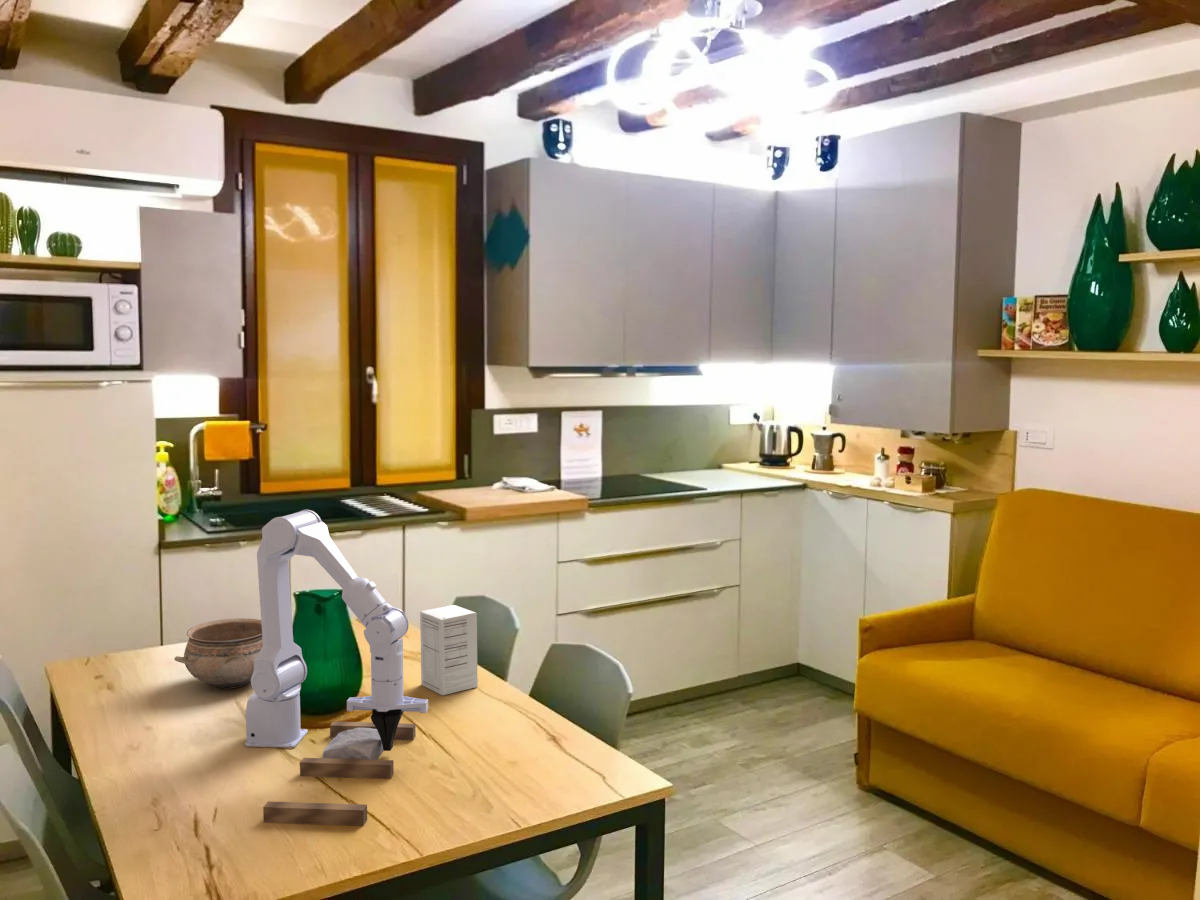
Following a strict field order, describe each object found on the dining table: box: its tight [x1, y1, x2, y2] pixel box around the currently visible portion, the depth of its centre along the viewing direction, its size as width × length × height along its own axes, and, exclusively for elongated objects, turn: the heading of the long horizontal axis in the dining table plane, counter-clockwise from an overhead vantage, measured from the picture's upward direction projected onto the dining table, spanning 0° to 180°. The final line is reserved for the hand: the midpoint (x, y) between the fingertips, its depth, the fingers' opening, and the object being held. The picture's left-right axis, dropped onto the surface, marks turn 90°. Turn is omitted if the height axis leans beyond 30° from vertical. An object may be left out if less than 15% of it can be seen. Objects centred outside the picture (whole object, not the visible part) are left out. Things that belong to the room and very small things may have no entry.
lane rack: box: [262, 721, 416, 826], centre depth 178 cm, size 16×36×2 cm, turn 177°
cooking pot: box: [174, 618, 263, 690], centre depth 223 cm, size 25×19×12 cm
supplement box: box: [419, 604, 479, 696], centre depth 223 cm, size 10×9×17 cm
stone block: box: [322, 728, 384, 760], centre depth 186 cm, size 12×5×10 cm
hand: (388, 748), depth 186 cm, fingers closed
